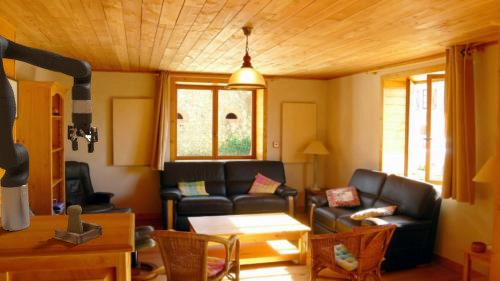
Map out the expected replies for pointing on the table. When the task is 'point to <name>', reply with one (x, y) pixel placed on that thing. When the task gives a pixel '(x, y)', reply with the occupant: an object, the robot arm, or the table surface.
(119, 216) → the table surface
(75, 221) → the cork
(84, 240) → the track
